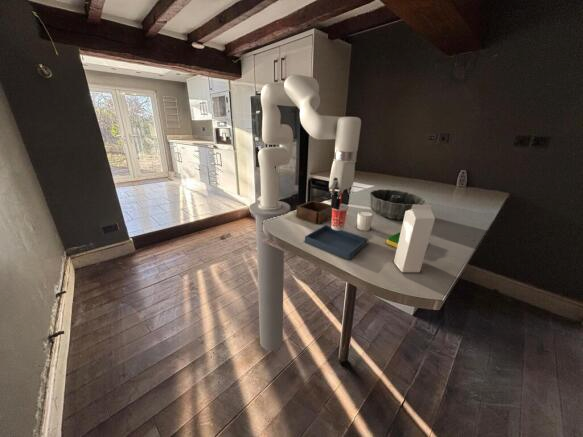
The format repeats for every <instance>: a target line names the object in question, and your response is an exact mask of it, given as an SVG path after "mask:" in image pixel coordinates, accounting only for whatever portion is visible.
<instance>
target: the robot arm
mask: <svg viewBox="0 0 583 437" xmlns="http://www.w3.org/2000/svg"><path fill="white" fill-rule="evenodd" d="M319 93H320V85H319V82H318V80H317V79H316V78H314V77H312V76H308V75H302V74H291V75H289V76H288V77H287V78H286V79H285V81H284V83H282V82H268V83H266V84H264V86H262V89H261V93H260V103H261V109H262V126H261V140H262V142H263V143H264V144H265V145H271V146H267V147H262V148H261V149H259V151H258V153H257V161H258V165H259V173H260V174H259V175H260V196H258V198H257V200H256V201H257V202H259V201H260V204H259V205H258V206H259V208H260V209H262V210H268V211H272V210H278V209H280V208H281V204H280V203H279V201H280V200H279V199H280V197H279V196H280V195H279V194H280V190H279V189H280V188H279V187H280V176H279V175H280V174H279V173H278V172H279V171H277V169H276V167H280V166H287V165H288V164H290V162H291V159H292V153H293V145H294V131H293V129H292V127H291V125H289V124H286V123H285V124H283V123H281V122H282V121H281V120H282V113H281V111H280V109H279V106H284V107H297V108H298V110H299V121H300V124H301V126H302V128H303V129H304V130H305V132H306V133H307V134H308V135H309V136H310V137H311V138H313V139H315V140H335V143H334V156H333V161H332V164H331V170H330V175H329V181H328V192H329V193H330V198H331V203H330V205H331V208H333V209H337V210H339V208H340V195H341V193H342V198H341V204H345V205H347V206H348V205H350V204H349V203H350V197H351V196H350V194H351V193H352V192H351V190H352V187H353V186H354V181H355V170H356V163H357V160H358V159H357V157H358V151H359V150H358V149H359V142H360V136H361V128H362V127H361V126H362V119H361V118H360V117H358V116H335V115H321V114H319V113H318V112H317V110H318V109H319V107H320V104H321V96H320V95H319ZM274 145H275V146H274ZM276 145H277V146H276ZM278 145H279V146H278Z"/></svg>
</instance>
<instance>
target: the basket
mask: <svg viewBox="0 0 583 437" xmlns="http://www.w3.org/2000/svg"><path fill="white" fill-rule="evenodd" d="M295 214H296V216H295V217H297V218H298V219H301V220H303V221H307V222H309V223H313V224H317V225H321V224H324V223H325V222H327V221H329V220H330V219H331V220H332V208H331V204H329V203H325V202H320V201H317V200H309V201H305V202H304V203H301V204H298V205H296V213H295Z"/></svg>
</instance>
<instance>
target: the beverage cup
mask: <svg viewBox="0 0 583 437" xmlns="http://www.w3.org/2000/svg"><path fill="white" fill-rule="evenodd" d="M341 198H342V192H341V195H340V198H339V199H340V208H339V210H337V209H333V208H332V218H331V225H330V226H331V228H332V229H333V230H337V231H340V230H343V231H344V229H345V223H346V217H347V214H348V213H347V212H348V210H349V206H348V205H345V204H341Z"/></svg>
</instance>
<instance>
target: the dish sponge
mask: <svg viewBox="0 0 583 437" xmlns="http://www.w3.org/2000/svg"><path fill="white" fill-rule="evenodd" d="M400 233H401V231H400V232H397V233H395V234H393V235H391V236H389V237H387V239H386V244H387V245H389V246H391V247H394V248H396V249H397V246H398V242H399V237H400Z"/></svg>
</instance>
